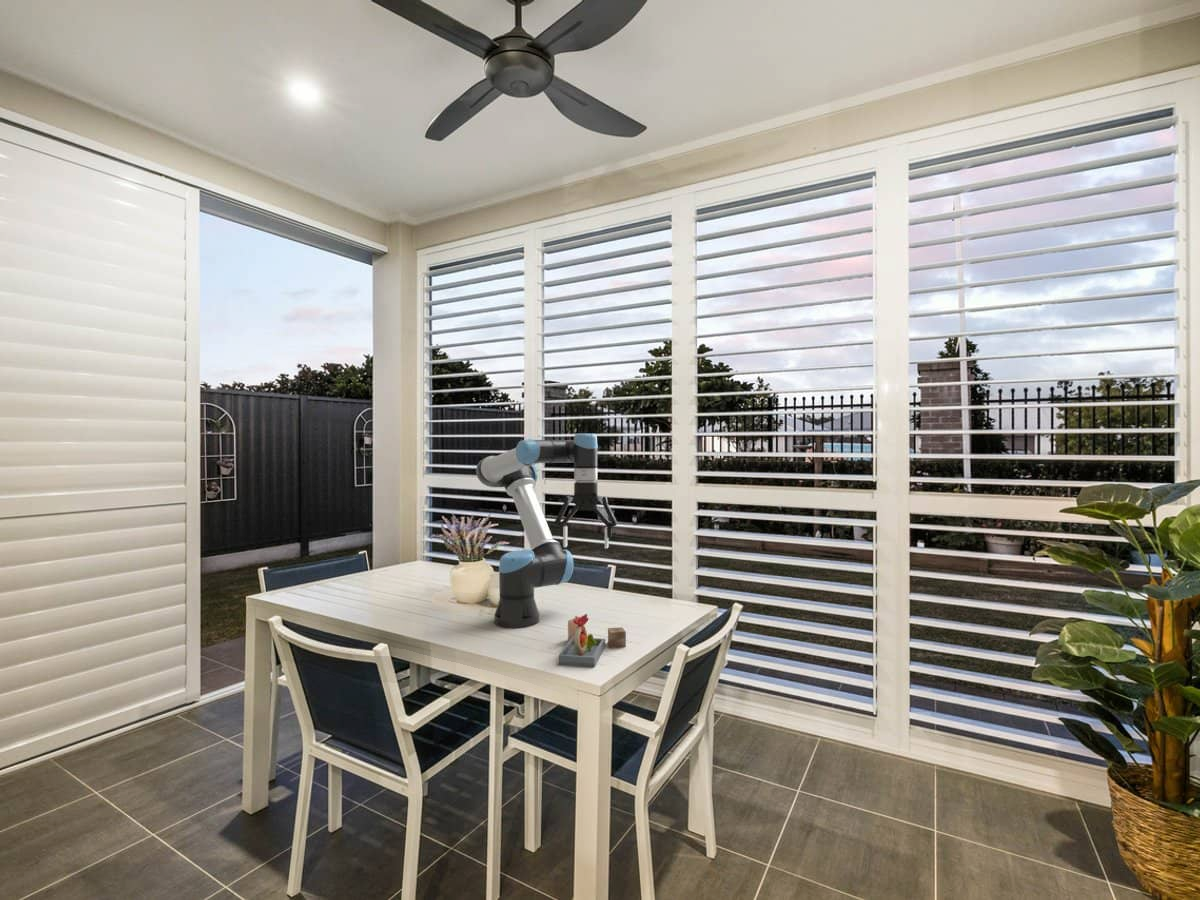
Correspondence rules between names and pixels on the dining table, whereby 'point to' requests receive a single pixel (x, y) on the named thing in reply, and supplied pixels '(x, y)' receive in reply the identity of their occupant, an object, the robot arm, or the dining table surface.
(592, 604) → the dining table surface
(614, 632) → the walnut cube
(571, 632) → the peach round-ended cylinder
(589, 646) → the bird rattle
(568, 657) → the tray
